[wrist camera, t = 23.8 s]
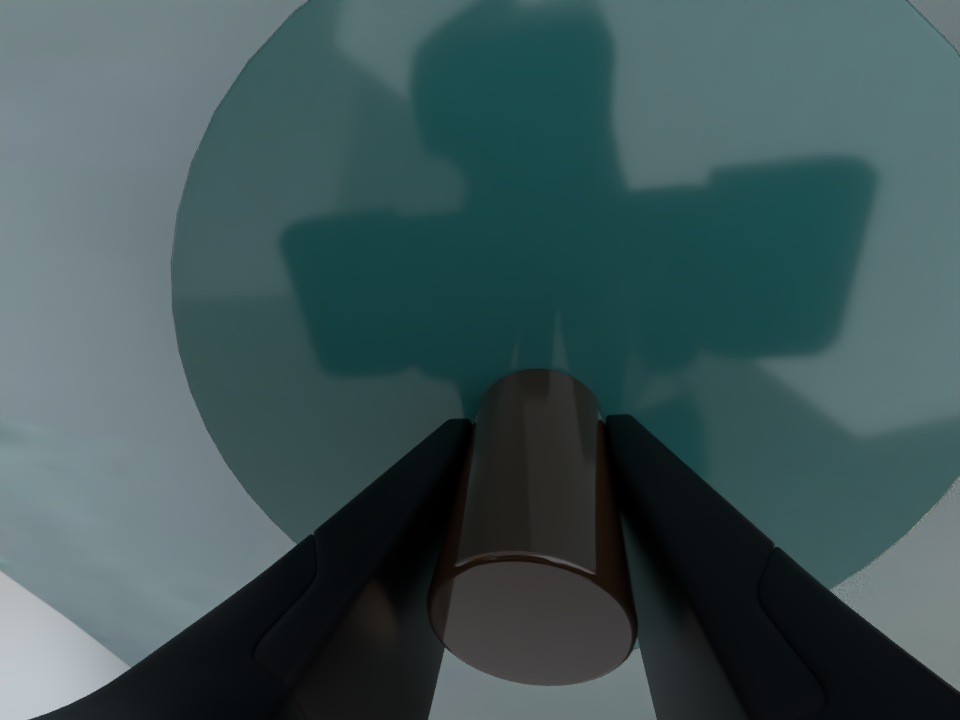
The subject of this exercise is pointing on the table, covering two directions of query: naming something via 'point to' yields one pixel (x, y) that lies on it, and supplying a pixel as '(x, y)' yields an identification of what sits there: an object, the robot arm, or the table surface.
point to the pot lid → (582, 283)
